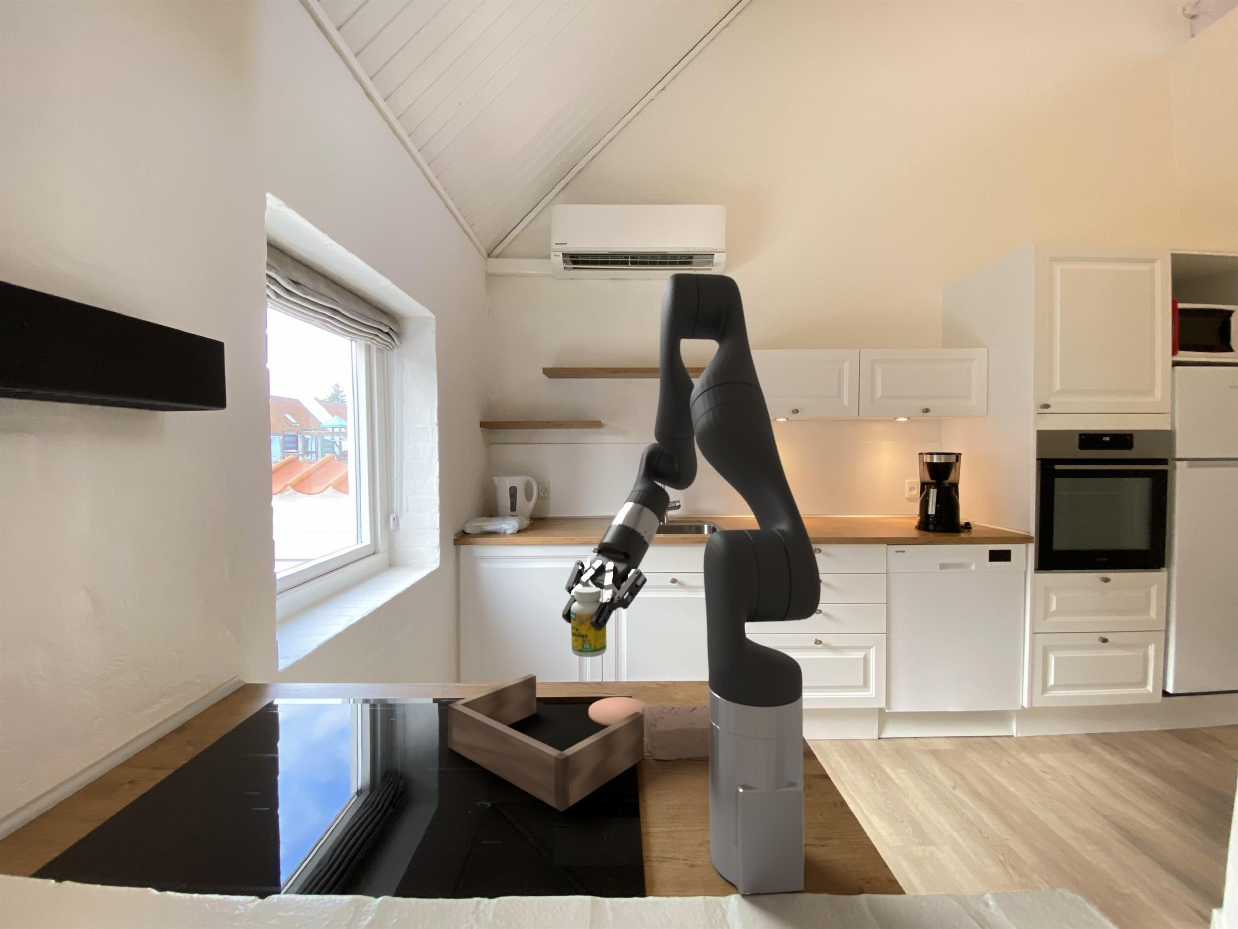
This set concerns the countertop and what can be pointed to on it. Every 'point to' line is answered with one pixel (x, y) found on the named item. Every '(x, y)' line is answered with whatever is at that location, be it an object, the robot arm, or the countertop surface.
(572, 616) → the supplement bottle
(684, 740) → the brick
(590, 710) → the pink round coaster
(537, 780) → the wooden frame
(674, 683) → the countertop surface
